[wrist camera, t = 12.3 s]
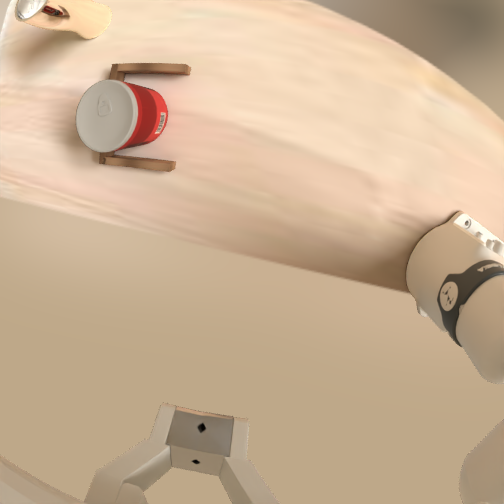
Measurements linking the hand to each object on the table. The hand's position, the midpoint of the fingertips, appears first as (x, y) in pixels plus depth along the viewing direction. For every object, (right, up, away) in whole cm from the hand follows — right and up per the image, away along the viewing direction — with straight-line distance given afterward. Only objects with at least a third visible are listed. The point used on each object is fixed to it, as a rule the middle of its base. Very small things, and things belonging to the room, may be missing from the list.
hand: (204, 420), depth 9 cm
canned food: (-13, +24, +27) cm, 38 cm away
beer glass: (-22, +40, +20) cm, 50 cm away
